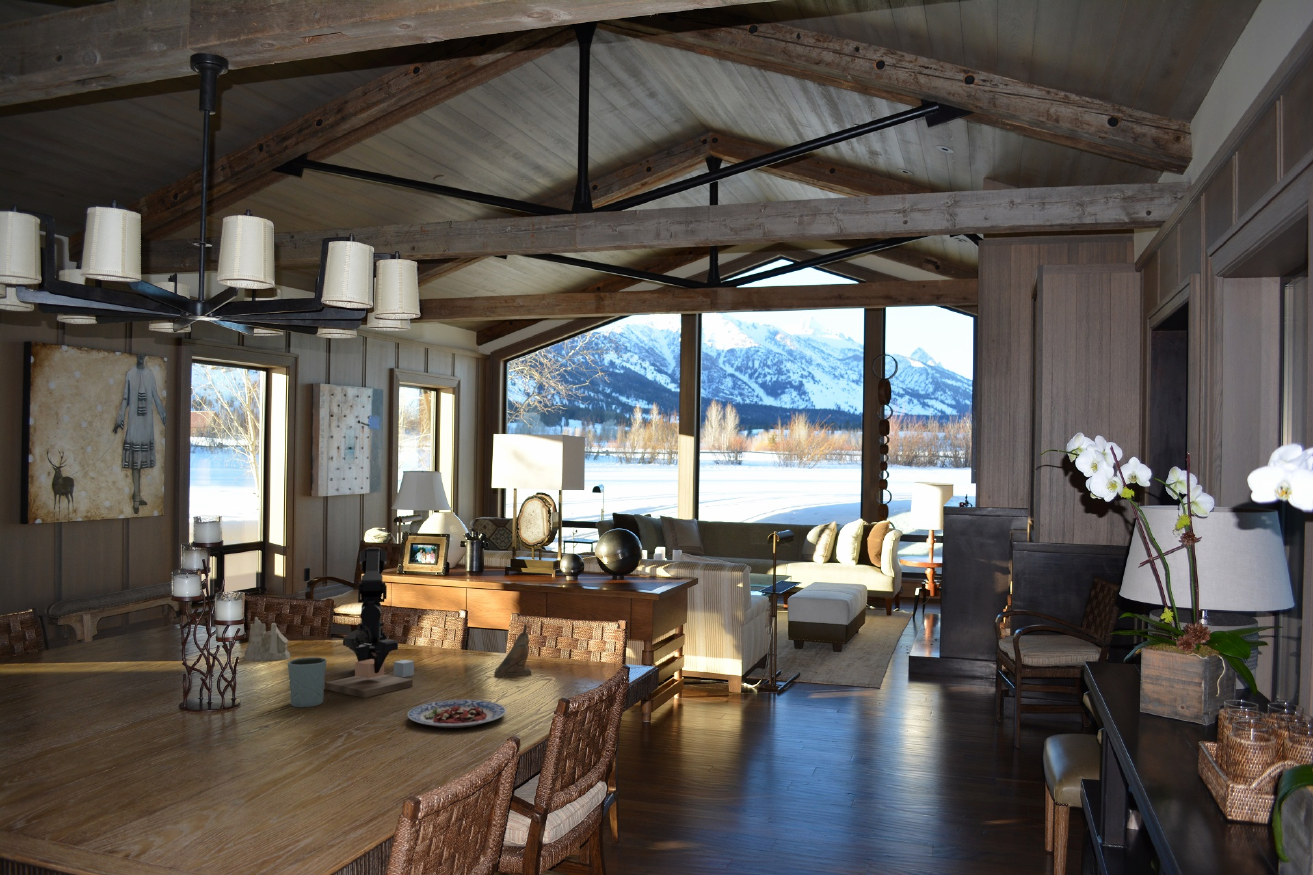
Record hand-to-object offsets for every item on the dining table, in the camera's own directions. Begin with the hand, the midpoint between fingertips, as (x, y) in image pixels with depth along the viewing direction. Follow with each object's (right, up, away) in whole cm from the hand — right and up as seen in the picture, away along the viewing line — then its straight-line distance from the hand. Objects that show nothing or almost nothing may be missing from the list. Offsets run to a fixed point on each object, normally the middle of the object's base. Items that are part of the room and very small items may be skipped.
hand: (369, 671), depth 282 cm
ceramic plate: (+34, -5, -34) cm, 48 cm away
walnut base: (0, -5, 0) cm, 5 cm away
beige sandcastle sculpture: (-49, -6, +44) cm, 66 cm away
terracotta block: (0, -1, 0) cm, 1 cm away
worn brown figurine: (+40, -7, +20) cm, 45 cm away
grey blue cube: (+6, -6, +18) cm, 19 cm away
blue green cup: (-12, -4, -20) cm, 24 cm away
